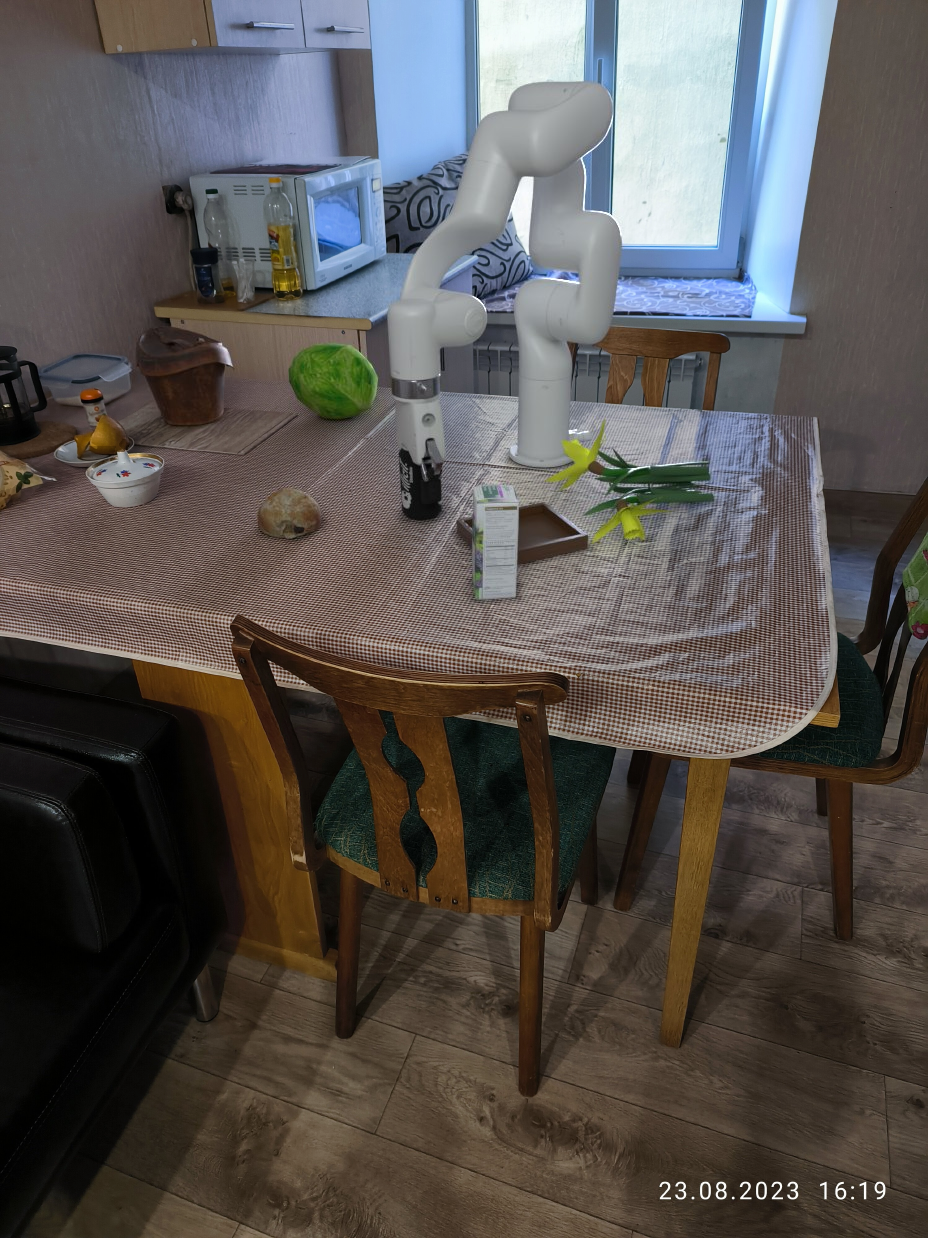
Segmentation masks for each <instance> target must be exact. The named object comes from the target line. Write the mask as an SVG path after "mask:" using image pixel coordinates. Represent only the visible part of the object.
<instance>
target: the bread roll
mask: <svg viewBox="0 0 928 1238" xmlns="http://www.w3.org/2000/svg"><path fill="white" fill-rule="evenodd" d="M256 516H257V526H258V529H259V530H260V531H262V532H263V534H265V535H268V536H270V537H272V538H276V539H286V540H291V539H295V538H299V537H303V536H306V535H307V534H310V533H314V532H317V531H318V530H319V528H320V527H321V524H322V520H323V519H322V518H323V517H322V509H321V507H320V505H319V503H318V501H316V499H315V498H313V497H312V496H311V495H309V494H307V493H305V492H304V491H303V490H300V489H297V488H296V489H295V488H280V489H278V490H277V491H274V492H273V493H272V494H270V495H269V496H268V497H267V499H266V500H265V501H263V502H262V503H261V505H260V506H259V507H258V509H257V513H256Z"/></svg>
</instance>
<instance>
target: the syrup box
mask: <svg viewBox="0 0 928 1238" xmlns="http://www.w3.org/2000/svg"><path fill="white" fill-rule="evenodd" d="M519 507H520V502H519V497H518V494H517V491H516V488H515V486H514V485H509V484H508V485H507V484H487V485H486V484H485V485H484V484H483V485H476V486H473V488H472V517H473V531H472V547H471V551H472V553H471V554H472V555H471V556H472V557H471V558H472V559H471V564H472V566H471V567H472V569H471V571H472V575H471V576H472V589H473V593H474V599H475V600H476V601H481V600H482V601H483V600H497V599H498V600H499V599H510V598H511V599H513V598H517V585H518V583H517V582H518V565H517V552H518V522H519Z"/></svg>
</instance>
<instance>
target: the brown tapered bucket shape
mask: <svg viewBox="0 0 928 1238" xmlns="http://www.w3.org/2000/svg"><path fill="white" fill-rule="evenodd" d="M134 356H135V358H134V367H135V368H139V371H140V372H139V373H140V374H141V375H142V376H143V377H145V380H146V382H147V384H148V386H149V389H150V391H151V394H152V396H153V398H154V400H155V403H156V405H157V407H158V411H159V412H160V414H161V417H162V420H163V421H164V422H166V423H167V424H168V425H172V426H177V427H178V426H179V427H180V426H181V427H182V426H183V427H185V426H187V427H189V426H202V425H206V424H211V423H213V422H215V421H217V420H219V419H220V418H221V417H222V416H223V415H224V407H225V406H224V404H225V403H224V401H225V379H226V378H225V376H226V375H225V374H226V367H228V368H229V367H230V368H231V369H233V370H234V371H235V370H236V369H235V368H234V366H233V363H232V360H231V355H230V352H229V350H228V348H226V347H225V346H224V345H223V343H222V341H219V340H216V339H215V338H212V337H209V336H207V335H204V334H201V333H199V332H195V331H192V330H189V329H185V328H184V329H183V328H180V327H174V326H167V325H160V326H158V325H157V326H152V327H150V328H147V329H146V330H145V331H143V332H142V333H141V334H140V335H139V337H138V339H137V341H136V343H135V355H134Z"/></svg>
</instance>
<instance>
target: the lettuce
mask: <svg viewBox="0 0 928 1238" xmlns="http://www.w3.org/2000/svg"><path fill="white" fill-rule="evenodd" d="M378 381H379V376H378V375H377V373H376V371H375V369H374V367H373V365H372V363H370V361H369V360H368V359H367V358H366V357H365V356H364V355H363V354H362V353H361V352H360V351H359V350H357V349H356V348H355V347H354V346H353V345H351V344H344V343H335V342H327V343H326V342H325V343H316V344H313V345H311V346H308V347H305V348H303V349H301V351H300V352H298V353H297V354H296V355H295V356H294V357H293V359H292V362H291V364H290V366H289V368H288V383H289V384H290V387H291V388H292V390H293V393H294V396H295V398H296V399H297V400H298V401H299V402H300V403H301V404H302V405H304V406H305V407H306V408H307V409H309V410H311V411H312V412H314V413H315V414H316V415H318V416H319V417H321V418H323V419H324V420H343V419H348V418H352V417H357V416H358V415H360V414H362V413H364V412H366V411H368V410H369V409H370V408H371V407H372V405H373V403H374V401H375V398H376V396H377V390H378V383H379V382H378Z"/></svg>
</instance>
